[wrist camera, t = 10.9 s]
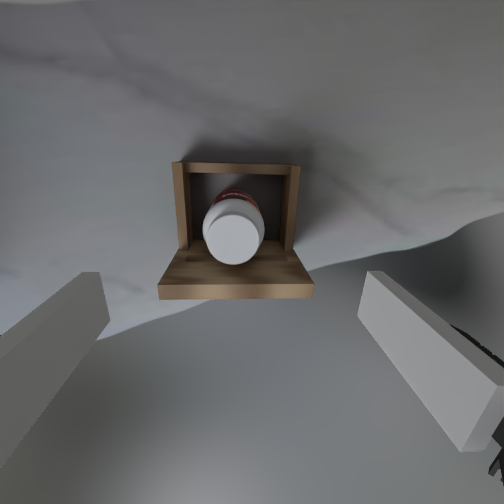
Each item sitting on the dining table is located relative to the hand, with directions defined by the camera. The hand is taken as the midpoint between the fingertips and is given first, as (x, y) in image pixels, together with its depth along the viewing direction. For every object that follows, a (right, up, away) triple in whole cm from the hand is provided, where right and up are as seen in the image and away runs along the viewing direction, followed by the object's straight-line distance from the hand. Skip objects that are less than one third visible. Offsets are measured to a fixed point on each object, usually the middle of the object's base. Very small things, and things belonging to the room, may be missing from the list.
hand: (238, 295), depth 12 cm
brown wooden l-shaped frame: (-1, +8, +19) cm, 21 cm away
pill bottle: (-2, +7, +19) cm, 21 cm away
